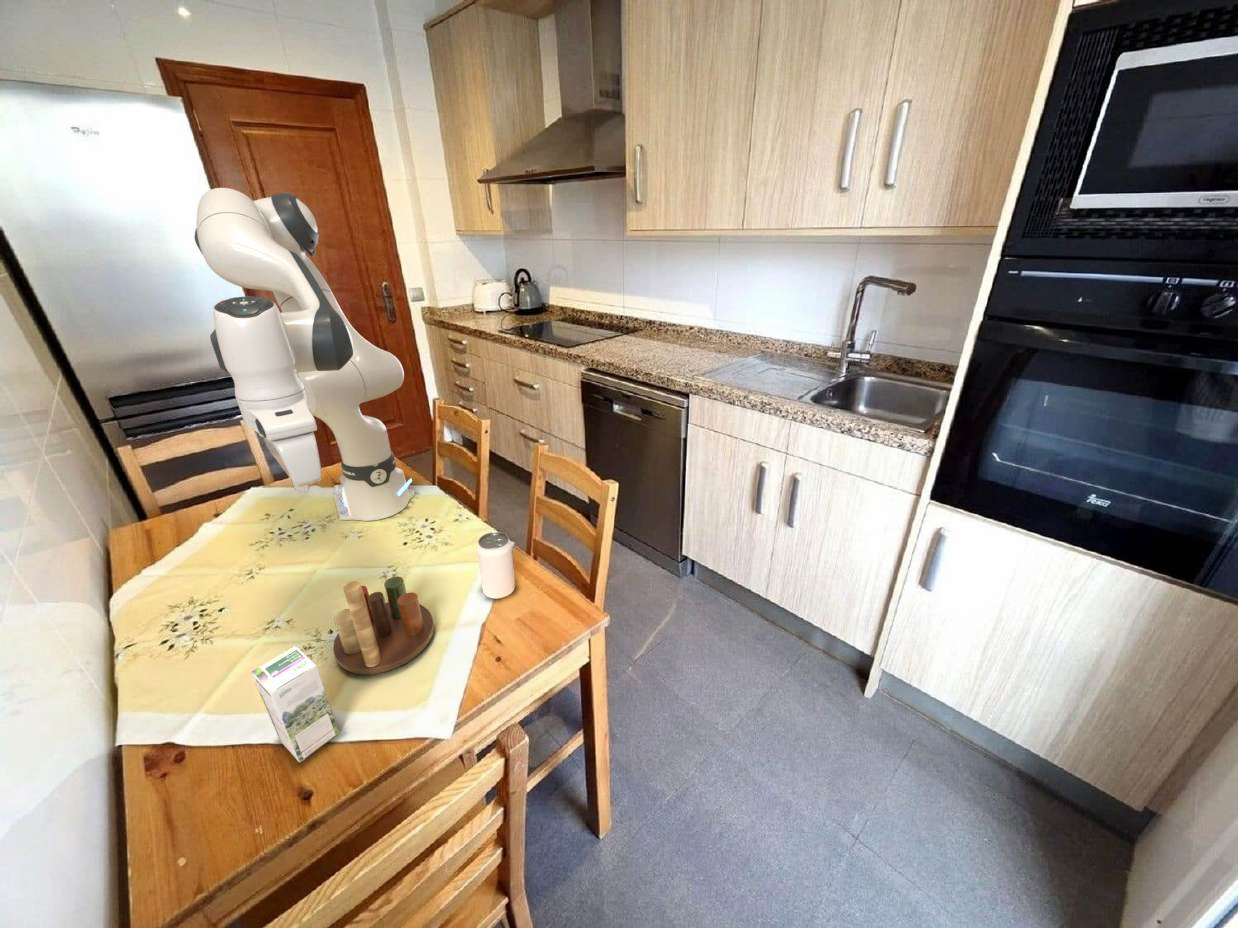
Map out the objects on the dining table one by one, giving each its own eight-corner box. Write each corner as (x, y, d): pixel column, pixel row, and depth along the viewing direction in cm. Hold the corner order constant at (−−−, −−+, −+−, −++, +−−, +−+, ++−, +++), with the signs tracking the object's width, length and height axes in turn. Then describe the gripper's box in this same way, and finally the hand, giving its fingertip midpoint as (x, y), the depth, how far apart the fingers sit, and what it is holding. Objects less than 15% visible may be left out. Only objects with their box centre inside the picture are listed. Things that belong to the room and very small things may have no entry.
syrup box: (320, 713, 76) (294, 642, 70) (341, 734, 73) (316, 662, 66) (280, 742, 72) (248, 669, 65) (300, 765, 69) (269, 692, 62)
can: (507, 602, 98) (502, 551, 93) (477, 597, 99) (470, 547, 94) (520, 581, 104) (515, 532, 99) (491, 576, 105) (485, 528, 100)
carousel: (319, 678, 80) (290, 596, 73) (353, 609, 94) (332, 534, 87) (423, 669, 82) (405, 588, 75) (441, 602, 96) (427, 528, 89)
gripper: (239, 397, 81) (264, 473, 88) (267, 434, 68) (295, 520, 74) (283, 390, 85) (304, 462, 91) (318, 423, 72) (341, 505, 78)
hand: (300, 489), depth 83 cm, fingers closed
